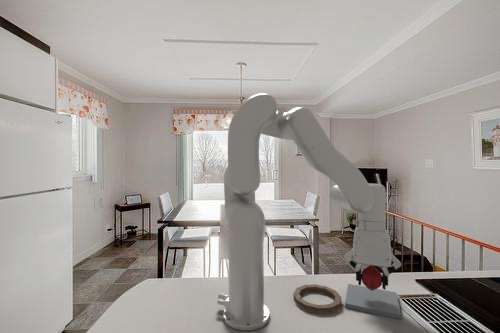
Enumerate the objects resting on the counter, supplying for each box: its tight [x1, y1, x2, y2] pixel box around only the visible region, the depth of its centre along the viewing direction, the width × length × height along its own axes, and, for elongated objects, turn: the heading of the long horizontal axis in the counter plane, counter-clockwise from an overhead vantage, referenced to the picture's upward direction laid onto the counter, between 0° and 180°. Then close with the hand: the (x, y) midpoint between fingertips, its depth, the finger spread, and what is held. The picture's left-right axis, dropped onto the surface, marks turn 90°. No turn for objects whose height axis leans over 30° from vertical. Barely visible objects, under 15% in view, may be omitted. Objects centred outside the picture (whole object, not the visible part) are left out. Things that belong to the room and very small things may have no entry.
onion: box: [361, 265, 383, 291], centre depth 76 cm, size 6×6×8 cm
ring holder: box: [292, 283, 342, 315], centre depth 77 cm, size 14×14×2 cm
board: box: [344, 283, 402, 320], centre depth 76 cm, size 14×13×1 cm
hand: (371, 284), depth 76 cm, fingers closed on onion, 5 cm apart
